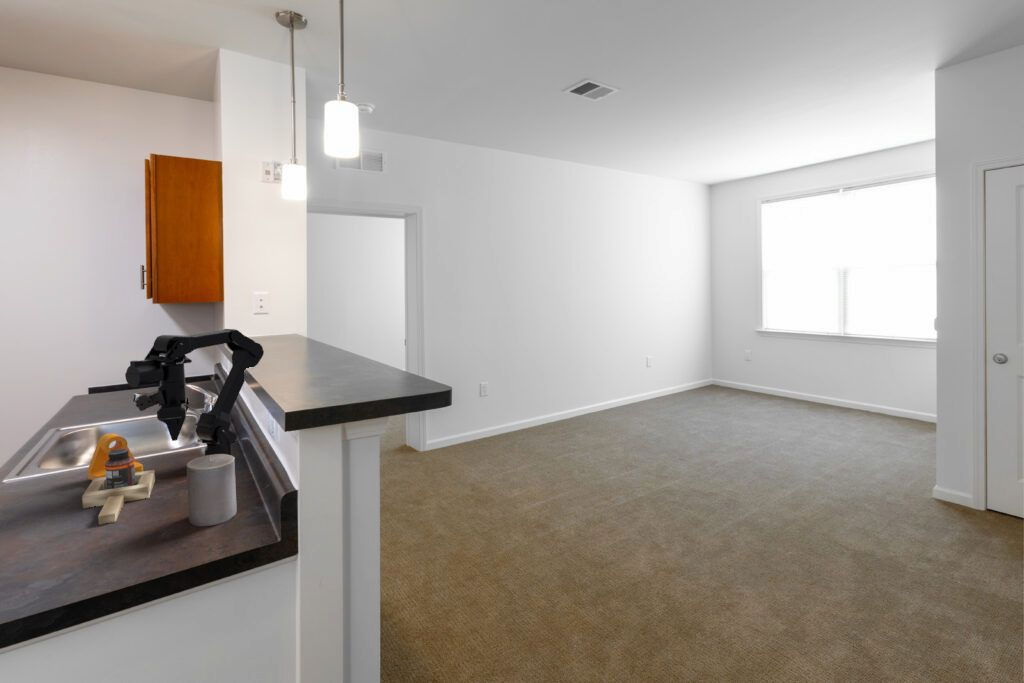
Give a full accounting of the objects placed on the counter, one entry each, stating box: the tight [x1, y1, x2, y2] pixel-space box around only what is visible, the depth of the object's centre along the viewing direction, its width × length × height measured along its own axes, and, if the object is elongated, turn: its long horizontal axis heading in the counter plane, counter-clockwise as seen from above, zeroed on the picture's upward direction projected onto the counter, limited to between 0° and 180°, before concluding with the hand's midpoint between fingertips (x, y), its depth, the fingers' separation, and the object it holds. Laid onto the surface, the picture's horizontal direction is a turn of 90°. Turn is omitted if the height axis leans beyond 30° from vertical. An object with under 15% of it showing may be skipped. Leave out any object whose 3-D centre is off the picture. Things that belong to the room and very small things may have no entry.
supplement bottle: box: [105, 449, 136, 489], centre depth 129 cm, size 6×6×11 cm
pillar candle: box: [186, 454, 238, 527], centre depth 117 cm, size 10×10×15 cm
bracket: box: [86, 433, 144, 482], centre depth 140 cm, size 11×7×12 cm, turn 147°
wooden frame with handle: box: [81, 469, 156, 526], centre depth 125 cm, size 13×25×3 cm, turn 30°
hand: (176, 435), depth 140 cm, fingers open, 9 cm apart
